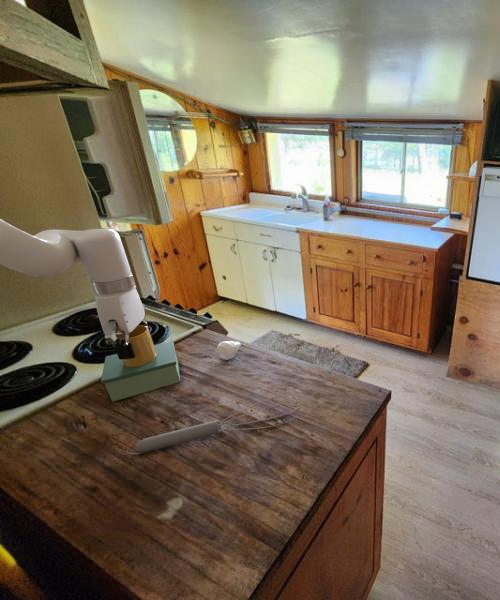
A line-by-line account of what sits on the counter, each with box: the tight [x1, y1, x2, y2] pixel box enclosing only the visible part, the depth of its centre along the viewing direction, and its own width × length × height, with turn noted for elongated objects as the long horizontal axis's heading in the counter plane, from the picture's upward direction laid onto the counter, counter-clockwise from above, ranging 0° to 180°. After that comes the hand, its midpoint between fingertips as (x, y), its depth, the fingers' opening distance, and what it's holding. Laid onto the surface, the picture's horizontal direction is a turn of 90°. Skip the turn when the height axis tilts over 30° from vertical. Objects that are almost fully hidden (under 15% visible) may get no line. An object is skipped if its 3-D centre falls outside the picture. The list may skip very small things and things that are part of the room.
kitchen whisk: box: [125, 395, 301, 455], centre depth 70 cm, size 6×34×6 cm, turn 111°
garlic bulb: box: [216, 340, 242, 361], centre depth 96 cm, size 6×6×5 cm
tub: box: [100, 340, 181, 402], centre depth 84 cm, size 15×12×7 cm
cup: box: [117, 325, 157, 367], centre depth 81 cm, size 7×7×8 cm
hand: (136, 347), depth 82 cm, fingers open, 8 cm apart
